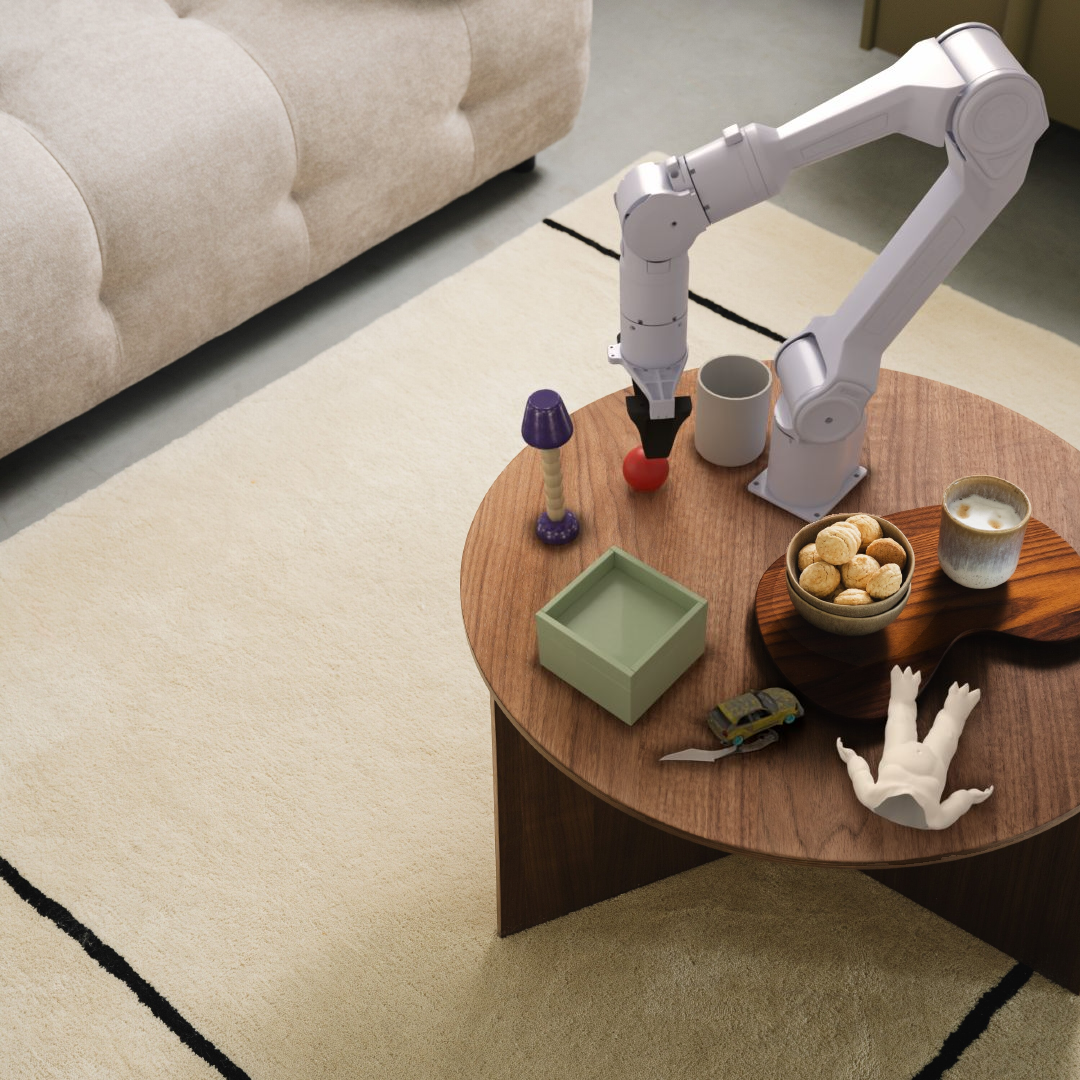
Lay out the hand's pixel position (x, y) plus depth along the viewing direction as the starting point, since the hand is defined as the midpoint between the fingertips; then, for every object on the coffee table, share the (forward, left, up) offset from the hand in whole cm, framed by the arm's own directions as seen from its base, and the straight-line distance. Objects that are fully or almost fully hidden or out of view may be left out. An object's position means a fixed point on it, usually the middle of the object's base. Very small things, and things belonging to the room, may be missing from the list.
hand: (652, 428), depth 107 cm
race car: (+15, +23, -9) cm, 29 cm away
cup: (-12, 0, -9) cm, 15 cm away
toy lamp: (+9, -4, -9) cm, 14 cm away
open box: (+17, +10, -9) cm, 22 cm away
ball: (-1, -2, -7) cm, 7 cm away
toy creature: (+5, +33, -8) cm, 34 cm away
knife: (+17, +21, -9) cm, 28 cm away
